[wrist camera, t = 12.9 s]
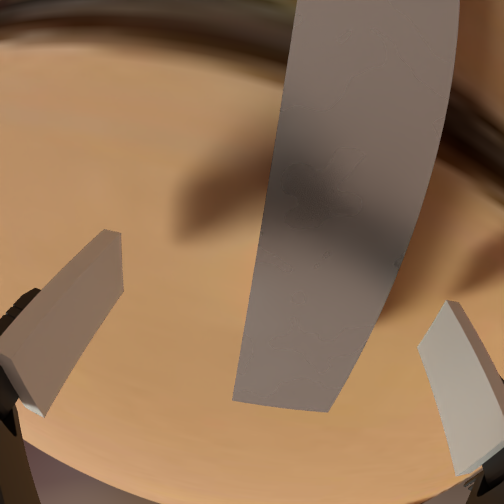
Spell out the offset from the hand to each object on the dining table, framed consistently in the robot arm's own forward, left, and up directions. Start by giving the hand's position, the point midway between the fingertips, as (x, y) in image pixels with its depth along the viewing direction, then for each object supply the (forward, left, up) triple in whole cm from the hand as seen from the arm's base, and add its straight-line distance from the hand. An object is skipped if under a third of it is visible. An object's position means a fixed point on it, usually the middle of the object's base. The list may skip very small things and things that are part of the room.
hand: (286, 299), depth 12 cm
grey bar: (0, +8, -3) cm, 9 cm away
